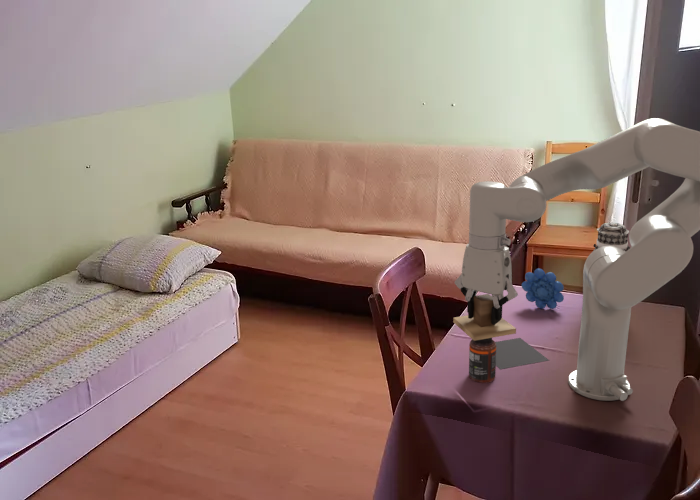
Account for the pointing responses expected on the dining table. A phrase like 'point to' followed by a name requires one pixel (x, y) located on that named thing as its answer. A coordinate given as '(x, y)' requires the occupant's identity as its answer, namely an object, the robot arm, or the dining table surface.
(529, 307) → the dining table surface
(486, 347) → the supplement bottle
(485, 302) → the oak lid
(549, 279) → the blue flower shape
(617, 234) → the decorative candle
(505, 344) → the dark gray mat
